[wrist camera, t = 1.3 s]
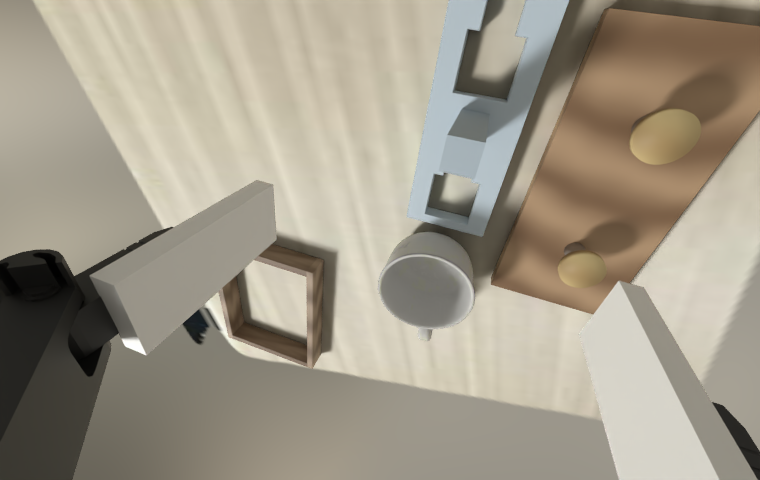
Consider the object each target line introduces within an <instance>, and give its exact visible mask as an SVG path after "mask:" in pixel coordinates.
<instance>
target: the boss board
mask: <svg viewBox="0 0 760 480" xmlns="http://www.w3.org/2000/svg"><path fill="white" fill-rule="evenodd" d="M759 110H760V26H754V25H746V24H737V23H729V22H721V21H712V20H704V19H696V18H687V17H679V16H671V15H662V14H654V13H646V12H637V11H629V10H620V9H612V8H608V9H605V10H604V11H603V14H602V16H601V18H600V21H599V23H598V25H597V28H596V30H595V33H594V35H593V37H592V40H591V42H590V44H589V47H588V49H587V52H586V54H585V56H584V59H583V61H582V63H581V66H580V68H579V71H578V73H577V75H576V78H575V80H574V82H573V85H572V87H571V90H570V92H569V94H568V97H567V99H566V101H565V104H564V106H563V108H562V111H561V113H560V116H559V118H558V120H557V123H556V125H555V127H554V130H553V132H552V135H551V137H550V139H549V142H548V144H547V146H546V149H545V151H544V154H543V156H542V158H541V161H540V163H539V165H538V168H537V170H536V173H535V175H534V177H533V180H532V182H531V184H530V187H529V189H528V192H527V194H526V196H525V199H524V201H523V203H522V206H521V208H520V210H519V213H518V215H517V218H516V220H515V222H514V225H513V227H512V229H511V232H510V234H509V237H508V239H507V241H506V244H505V246H504V248H503V251H502V253H501V256H500V258H499V260H498V263H497V265H496V267H495V270H494V272H493V275H492V277H491V285H494V286H498V287H501V288H504V289H508V290H511V291H515V292H518V293H522V294H525V295H528V296H532V297H535V298H539V299H542V300H546V301H549V302H553V303H556V304H559V305H563V306H566V307H570V308H573V309H577V310H580V311H583V312H587V313H590V314H594V313H595V312H596V310H597V309H598V308H599V306H600V305H601V304H602V302H603V301H604V300H605V298H606V297H607V296H608V294H609V293H610V292H611V290H612V289H613V288H614V286H615V285H616V284H617V282H618V281H622V282H626V283H630V282H631V280H632V279H633V278H634V276H635V275H636V274H637V272H638V271H639V270H640V268H641V267H642V266H643V264H644V263H645V262H646V260H647V259H648V258H649V256H650V255H651V254H652V252H653V251H654V250H655V248H656V247H657V246H658V244H659V243H660V242H661V240H662V239H663V238H664V236H665V235H666V234H667V232H668V231H669V230H670V229H671V227H672V226H673V225H674V223H675V222H676V221H677V219H678V218H679V217H680V215H681V214H682V213H683V211H684V210H685V209H686V207H687V206H688V205H689V203H690V202H691V201H692V199H693V198H694V197H695V195H696V194H697V193H698V191H699V190H700V189H701V187H702V186H703V185H704V183H705V182H706V181H707V179H708V178H709V177H710V175H711V174H712V173H713V171H714V170H715V169H716V168H717V166H718V165H719V164H720V162H721V161H722V160H723V158H724V157H725V156H726V154H727V153H728V152H729V150H730V149H731V148H732V146H733V145H734V144H735V142H736V141H737V140H738V138H739V137H740V136H741V134H742V133H743V132H744V130H745V129H746V128H747V126H748V125H749V124H750V122H751V121H752V120H753V118H754V117H755V116H756V114H757V113H758V112H759Z"/></svg>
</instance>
